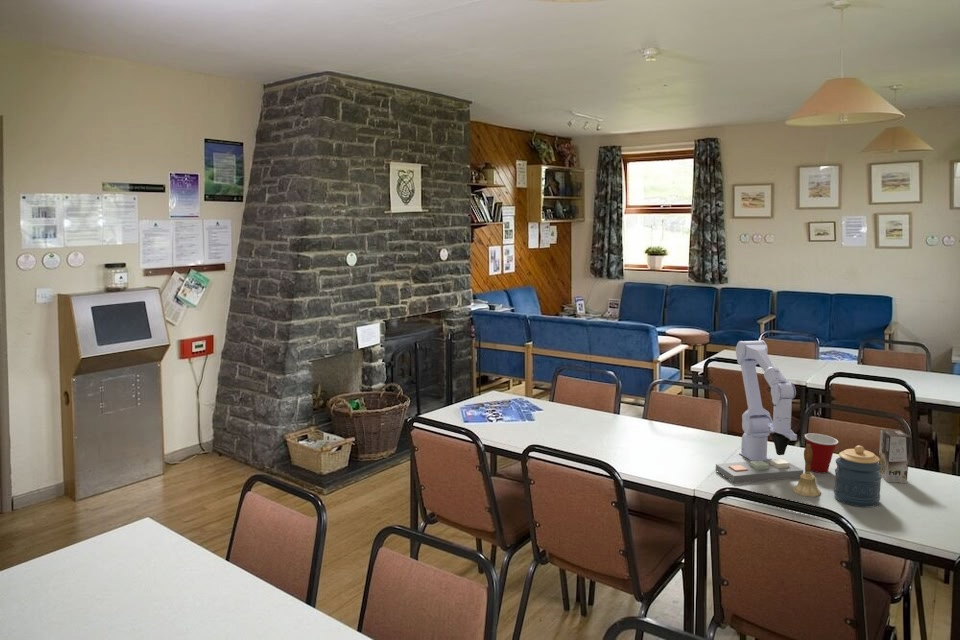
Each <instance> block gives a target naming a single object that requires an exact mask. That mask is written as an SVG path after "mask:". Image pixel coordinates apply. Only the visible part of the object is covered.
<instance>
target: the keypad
mask: <svg viewBox="0 0 960 640" xmlns="http://www.w3.org/2000/svg"><path fill="white" fill-rule="evenodd" d="M762 461H763V462H765V463H767V464H768V465H769V467H768V469H764V470H755V469H754V468H752V467H750V461H739V462H725V463H717V464H715V472H717V471H718V472H719V473H718V472H717V473H718V474H720V473H721V474H722V475H721V474H720V475H721V476H723V475H724V476H725V477H724V476H723V477H724V478H726V477H727V478H728V479H727V478H726V479H727V480H729V479H730V480H731V481H730V480H729V481H730V482H732V483H733V482H734V483H733V484H736V483H735V482H740V483H751V482H763V481H773V480H774V481H776V480H783V479H784V480H786V479H787V480H788V479H796V478H797V479H798V477H800V475H801V474H804V470H803V469H802V468H800V467H798V466H796V465H795V464H793V463H790V462H789V461H787V462H788V463H789V468H776V467H774V466H772V465H771V464H770V461H771V460H762ZM734 465H741V466H743V467H745V468H746V469H747V471H739V472H735V471H733V470H732V469H730V468H729V466H734Z"/></svg>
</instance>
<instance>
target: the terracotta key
mask: <svg viewBox="0 0 960 640" xmlns="http://www.w3.org/2000/svg"><path fill="white" fill-rule="evenodd" d="M729 468H730V469H732V470H733V471H735V472H739V471H747V469H746V468H745V467H743V466H741V465H734V466H729Z"/></svg>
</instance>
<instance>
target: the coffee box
mask: <svg viewBox="0 0 960 640" xmlns="http://www.w3.org/2000/svg"><path fill="white" fill-rule="evenodd" d="M910 447H911V436H910V435H908V434H907V433H905V432H904V431H903V430H901V429H894V428H893V429H891V428H889V429H884V428H882V429H881V428H880V435H879V451H878V452H879V453H878V457H879V459H880V461H879V462H878V463H880V464H881V465H882V469H881V470H880V475H881V477H882V478H883V480H885V481H886V482H887V483H898V482H899V483H900V484H907V483H908V475H909V473H908V470H909V460H910V459H909V458H910Z"/></svg>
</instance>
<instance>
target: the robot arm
mask: <svg viewBox="0 0 960 640" xmlns="http://www.w3.org/2000/svg"><path fill="white" fill-rule="evenodd" d="M768 351H769V348H768V345H767V343H766V341H764V340H763V339H761V340H744V341H743V340H739V341H738V342H737V344H736V346H735V354H736V360H737V364H738V365H740V368H741V376H742V381H743V386H744V392H745V397H746V404H747V410H745V411H744V412H743V413H742V415H741V419H742V420H741V426H742V427H741V429H742V431H743V432H744V433H743V434H742V435H741V448H740V449H741V451H739V452H738V454H740V455H741V456H743V457H745V458H746V459H748V460H749V461H763V460H773V458H772V457H770V456H768V436H770V438H771V440H772V442H773V445H774V449H775V452H776V455H777V456H784V455H785V454H786V450H787V448H788V445H789V444H790V442H791V441H797V440H798V434H796V433H794V431H793V430H792V429H791V427H792V423H791V422H792V405H793V404H792V403H793V399H795V397H796V395H797V391H796V387H795V384H794V383H793V382H790V381H789V380H787V379H786V378H785V376H784V375H783V373H782V372H781V370H780V369H779V368H778V367H777V366H776V367H775V366H774V365H773V362H772V360H771V358H770V357H769V355H768ZM757 365H759V366H760V368H761V369H762V371H764V373H763V378H764V379H765V381H766V382H767V384H768V386H769V387H770V395H771V402H772V404H773V409H772V410H773V414H772V416H771V413H770V412H769V411H768V410H766V409H765V408H764V407H763V402H762V398H761V396H762V395H761V391H760V384H759V379H758V373H757V368H756V367H757Z"/></svg>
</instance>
